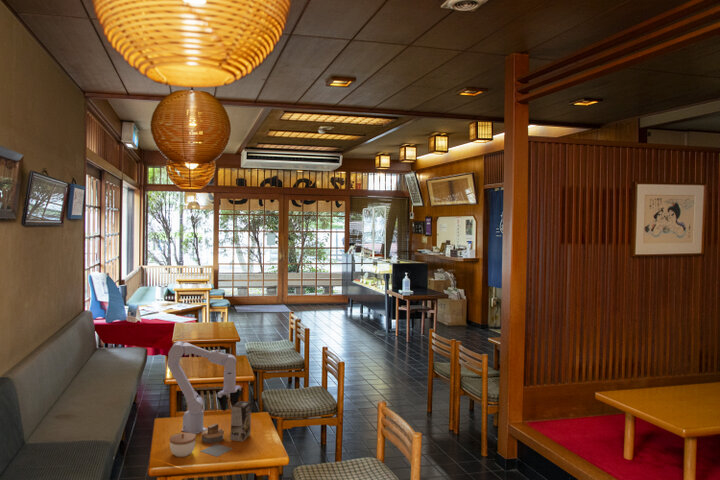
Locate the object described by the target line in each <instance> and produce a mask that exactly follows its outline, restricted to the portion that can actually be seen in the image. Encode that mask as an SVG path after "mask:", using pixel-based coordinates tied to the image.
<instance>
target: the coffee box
mask: <svg viewBox="0 0 720 480" xmlns="http://www.w3.org/2000/svg"><path fill="white" fill-rule="evenodd" d="M230 417H231V419H230V441H235V442H236V441H237V442H244V441H245V440H246V439H247V438H248V437H250V436H251V431H252V430H251V427H252V426H251V425H252V424H251V423H252V402H251V401H245V400H244V401H243V400H242V401H241V400H238V402H237V403H236V404H235V405H232V406H231V416H230Z"/></svg>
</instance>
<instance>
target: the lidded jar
mask: <svg viewBox="0 0 720 480" xmlns="http://www.w3.org/2000/svg"><path fill="white" fill-rule="evenodd" d="M196 438H197V437H196V434H192V433H188V432H180V433H179V432H178V433H174V434H173V435H171V436H170V437H169V447H170V448H169V449H170V451H171V453H172V454H173V455H174V456H175V457H177V458H183V457H187V456H189V455H190V454H192V452H193V451H194V449H195V446H196Z"/></svg>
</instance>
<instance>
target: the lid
mask: <svg viewBox="0 0 720 480" xmlns="http://www.w3.org/2000/svg"><path fill="white" fill-rule="evenodd" d="M222 435H223V436H224V435H225V431H224V430H223V429H222V428H219V423H213V424H212V425H211V424H210V425H208V426H207V430H204V431H203V432H201V437H202V436H203V437H206V438H216V437H220V436H222Z"/></svg>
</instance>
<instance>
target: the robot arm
mask: <svg viewBox="0 0 720 480" xmlns="http://www.w3.org/2000/svg"><path fill="white" fill-rule="evenodd" d="M192 354H193V355H195V356H200V357H203V358H206V359H207V360H208V362H210V363H213V364H216V365H219V366H223V367H224V370H223V389H222V390H220V391H218V392H217V393H216V395H217V396H216V399H217V400H218V402H219V404H220V408H221V411H223V412H224V411H225V412H226V410H227V404H228V401H229V397H228V396H227V395H229V394H230V395H231V405H232V406H233V405H235V404H236V403H237V402H239V399H240V397H241V395H242V385H236V381H237V368H236V365H237V358H236V356H235V355H233V354H232V353H224V352H221V351H220V350H219V349H216V350H215V349H213V350H211V351H209V350H207V349H205V348H202V347H200V346H196V344H195V345H194V344H191V343H190V342H187V341H186V342H184V341H182V340H177V341H175V342H174V343H173V344H172V346H171V347H170V349H169V351H168V354H167V355H168V358H167V367H168V370H169V371H170V373H171V374H172V377H174V380H175V381H176V383H177V385H178V387H179V388H180V390H181V392H182V394H183V395H184V399H185V402H186V404H187V411H185V412H184V414H183V415H182V429H180V430H181V431H182V432H184V433H192V434H194V435H198V434H200V433H202V432H203V431H204V430H207V429H208V427H204V417H205V416H204V413H205V412H204V409H203V405H204V398H203V397H202V396H201V395H199V394H198V392H197V391H195V389H194V387H193V386H192V384H191V382H190V380H189V378H188V377H187V375H186V373H185V371H184V369H183V368H182V366H181V364H180V362H181V358H182V356H183V355H184V356H188V355H192Z"/></svg>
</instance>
